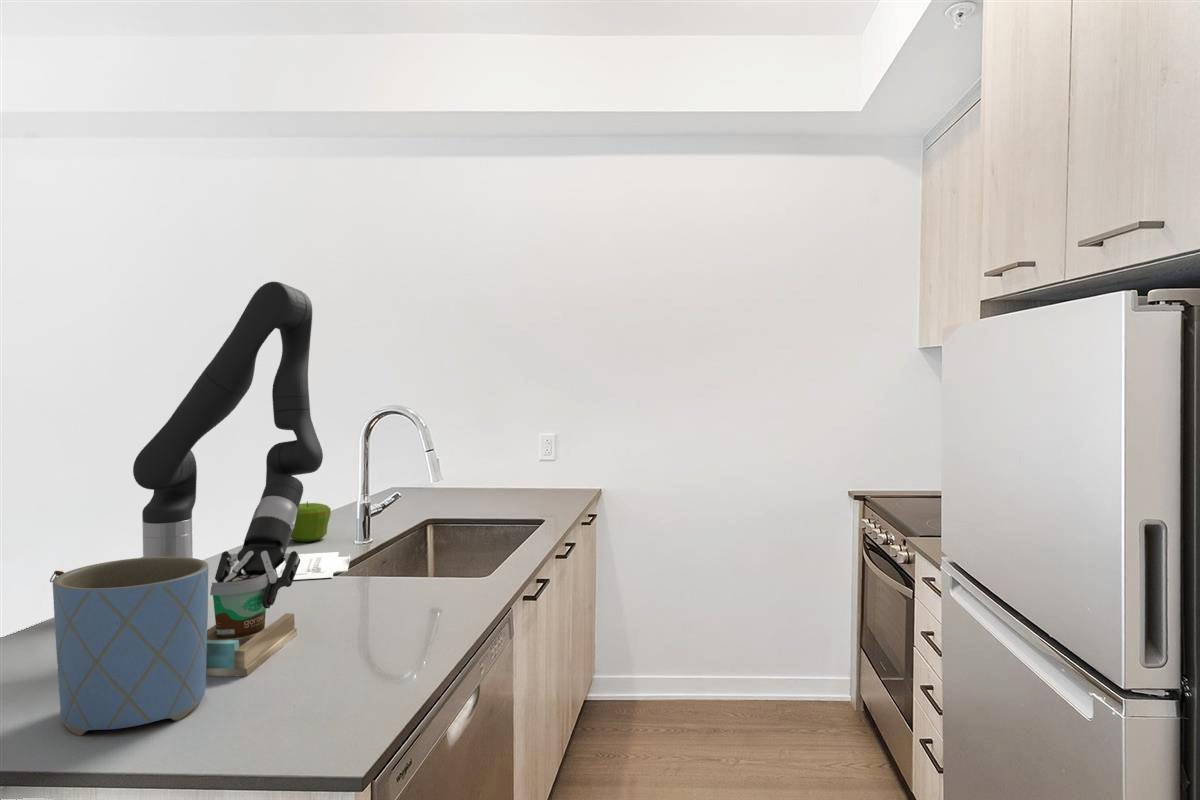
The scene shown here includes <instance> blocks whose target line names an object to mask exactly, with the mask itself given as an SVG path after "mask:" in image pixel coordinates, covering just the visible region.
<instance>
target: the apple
mask: <svg viewBox="0 0 1200 800" xmlns="http://www.w3.org/2000/svg"><path fill="white" fill-rule="evenodd" d="M331 509H332V508H331V507H330V506H328V505H327V504H323V503H318V502H316V503H315V502H310V503H309V502H308V501H306V502H305V503H300V504H299V507H298V510H297V515H296V521H295V526H294V529H293V531H292V534H291V537H290V539H292V540H293V541H295V540H296V541H295V542H302V543H304V542H305V543H307V542H308V543H309V542H316V541H319V540H321V539H323V538H324V537H325V536H326V535H327V534H328V533H327V532H328V525H329V522H330V517H331V513H332V512H331Z"/></svg>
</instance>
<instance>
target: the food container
mask: <svg viewBox="0 0 1200 800" xmlns="http://www.w3.org/2000/svg"><path fill="white" fill-rule="evenodd" d="M267 584H270V581H269V578H268V575H267V573H265V574H253V575H248V574H245V575H241V576H236V577H233V578H232V579H230V580H229V581H227V582H223V583H218V582H211V586H210V594H209V596H212V600H213V610H214V621H215V625H216V632H217V639H233V638H240V637H245V636H249V635H253V634H256V633H258V632H260V631H262V630H263V629H264V628H266V626H265V624H266V612H267V611H266V610H267V608H264V607H263V605H262V600H263V597H264V594H265V590H266V587H267Z"/></svg>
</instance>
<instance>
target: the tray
mask: <svg viewBox="0 0 1200 800" xmlns="http://www.w3.org/2000/svg"><path fill="white" fill-rule="evenodd" d="M297 554H298V556H299V558H300V560H301V561H300V564H299V566H298V569H297V571H296V574H295V577H294V579H293V581H294V580H295V581H296V580H309V579H310V580H312V579H313V580H314V579H327V578H331V579H333V576H334V574H336V573H348V571H349V566H350V561H351V554H349V555H348V556H339V551H334V552H333V551H332V552H316V553H297ZM285 565H286V563H285V561H284V562H283V563H282V564H281V565H279V566H278V567H277V568H276V571H277V574H278V577H281V575H282V573H283V570H284V568H285Z"/></svg>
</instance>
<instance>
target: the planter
mask: <svg viewBox="0 0 1200 800" xmlns="http://www.w3.org/2000/svg"><path fill="white" fill-rule="evenodd" d="M54 578H55V577H54ZM54 578H53V579H54ZM53 579H52V580H53ZM52 593H53V594H52V595H53V596H52V597H53V613H54V615H53V616H54V635H55V648H56V649H55V650H56V664H57V677H58V692H59V707H60V716H61V720H62V722H63V723H64V726H65V727H66V728H67V730H69V731H70V732H71V733H72V734H74V735H77V736H84V735H86V733H87V732H88V731H97V730H98V731H99V730H102V731H105V730H117V729H118V730H119V729H124V728H125V729H126V728H131V727H136V726H141V725H146V724H151V723H153V722H156V721H157V722H158V721H162V720H165V719H171V720H172V721H174V722H178V721H180V720H182V719H183V718H185V717H186V716H187V715H188V714H190V713H191V712H192V711H193V710H194V709H195V708H196V707H197V705H199V703H200V702H201V701H202V699H203V697H204V696H205V694H206V693H205V692H206V687H207V686H206V685H207V676H206V655H207V630H208V621H209V620H208V618H209V616H208V613H209V563H208V562H206V561H205V560H202V559H198V558H188V557H146V558H141V557H138V558H137V557H136V558H128V559H119V560H113V561H112V560H111V561H106V562H105V561H104V562H100V563H95V564H91V565H85V566H82V567H78V568H75V569H72V570H71V569H70V570H69V571H66V572H64V573H63V574H61V575H59V576H57V577H56V578H55V579H54V580H53V582H52Z"/></svg>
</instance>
